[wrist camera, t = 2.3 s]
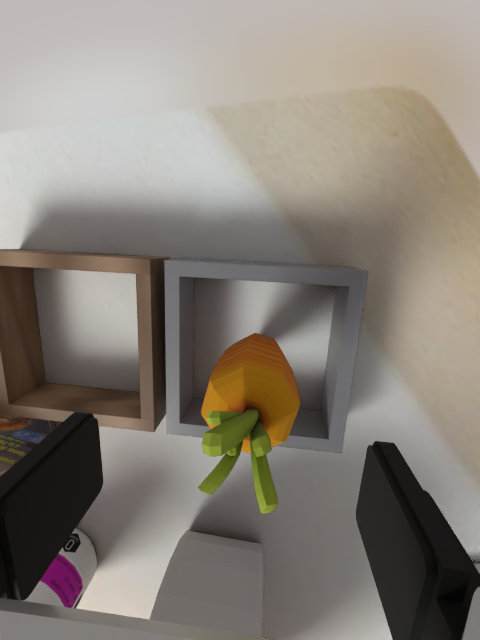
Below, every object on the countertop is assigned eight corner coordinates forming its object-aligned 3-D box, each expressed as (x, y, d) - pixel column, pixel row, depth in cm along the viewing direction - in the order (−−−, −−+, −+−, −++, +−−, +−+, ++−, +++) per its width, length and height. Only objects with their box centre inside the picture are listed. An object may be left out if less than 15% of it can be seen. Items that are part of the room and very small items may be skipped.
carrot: (292, 369, 25) (317, 539, 10) (233, 373, 26) (179, 537, 11) (288, 310, 24) (307, 410, 9) (226, 316, 25) (155, 416, 10)
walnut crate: (170, 257, 24) (149, 259, 20) (171, 405, 27) (153, 432, 23) (18, 249, 25) (-28, 249, 21) (36, 391, 28) (-2, 414, 24)
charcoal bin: (352, 267, 23) (368, 271, 19) (331, 422, 26) (341, 453, 22) (182, 258, 24) (164, 260, 20) (182, 406, 27) (166, 433, 23)
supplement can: (29, 509, 32) (-175, 727, 18) (103, 528, 31) (-44, 769, 17) (29, 567, 34) (-153, 804, 20) (99, 585, 33) (-36, 844, 19)
